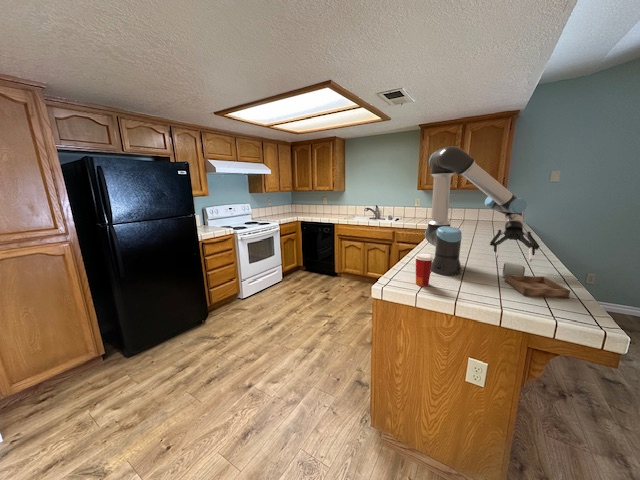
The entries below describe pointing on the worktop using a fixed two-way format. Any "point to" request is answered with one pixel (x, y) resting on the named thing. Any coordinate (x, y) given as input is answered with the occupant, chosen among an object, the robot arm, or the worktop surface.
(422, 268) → the paper cup
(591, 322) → the worktop surface
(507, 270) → the ceramic mug
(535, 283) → the tray
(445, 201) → the robot arm
